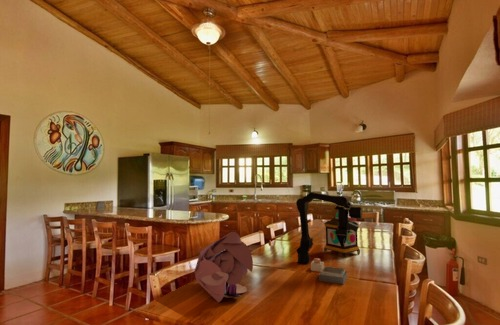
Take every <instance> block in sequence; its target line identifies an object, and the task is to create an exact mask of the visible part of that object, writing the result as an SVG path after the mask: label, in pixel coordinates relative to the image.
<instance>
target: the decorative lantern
mask: <svg viewBox="0 0 500 325" xmlns="http://www.w3.org/2000/svg"><path fill="white" fill-rule="evenodd" d="M337 219H338V211H337V212H336V213H335V216H334V217H333V218H331V219H330V220H327V221H325V222H324V223H323V224H324V225H323V226H324V227H325V245H324V248H323V250H324V251H323V252H324V253H325V254H326V253H327V252H328V251H332V252H335V253H339V254H342V257H343V258H344V259H345V258H346V254H350V253H354V252H356V254H357V255H361V254H360V253H361V249H360V247H359V245H358V231H357V232H355V231H353V230H350V232H349V233H348V234H347V238H346V243H344V245H343V247H342V246H341V245H340V242H339V240H338V238H337V236H336V234H335V230H337V229H338V228H337V227H338V221H337ZM348 219H349V222H351V223H354V222H356V221H355V220H352V219H351V218H350V217H348ZM357 225H359V223H357ZM348 231H349V230H348Z"/></svg>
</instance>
